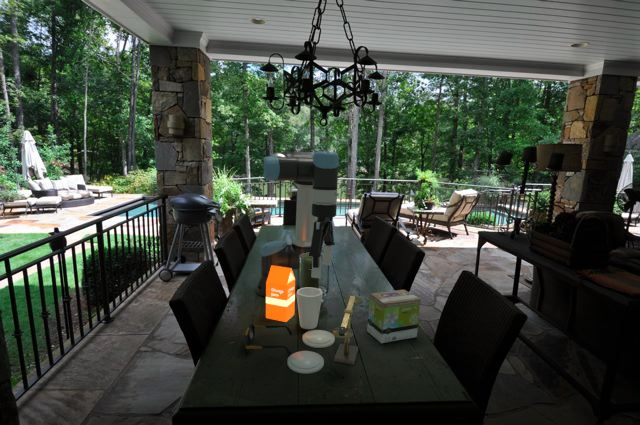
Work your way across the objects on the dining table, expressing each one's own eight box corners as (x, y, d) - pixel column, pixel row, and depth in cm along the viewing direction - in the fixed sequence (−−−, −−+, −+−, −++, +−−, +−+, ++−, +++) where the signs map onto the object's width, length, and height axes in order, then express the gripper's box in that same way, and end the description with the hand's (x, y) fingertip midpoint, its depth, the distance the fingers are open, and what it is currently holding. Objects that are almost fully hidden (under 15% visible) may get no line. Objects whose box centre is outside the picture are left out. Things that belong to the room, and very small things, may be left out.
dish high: (298, 344, 120) (298, 341, 120) (307, 329, 130) (307, 326, 130) (330, 350, 117) (330, 346, 117) (337, 334, 128) (337, 331, 127)
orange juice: (286, 322, 136) (287, 271, 133) (265, 318, 139) (265, 267, 136) (294, 314, 143) (295, 265, 140) (274, 310, 146) (275, 262, 143)
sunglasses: (291, 356, 113) (291, 341, 112) (242, 356, 112) (242, 341, 111) (292, 335, 127) (292, 321, 126) (248, 335, 126) (248, 321, 125)
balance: (343, 338, 125) (345, 291, 123) (360, 340, 124) (363, 293, 121) (329, 373, 105) (331, 317, 102) (349, 376, 103) (352, 320, 101)
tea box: (382, 345, 122) (384, 303, 119) (366, 331, 131) (368, 292, 129) (418, 337, 128) (421, 297, 125) (400, 325, 137) (403, 287, 135)
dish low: (282, 369, 105) (282, 365, 105) (294, 350, 116) (294, 347, 116) (318, 376, 103) (318, 372, 103) (327, 356, 113) (327, 353, 113)
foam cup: (318, 332, 129) (319, 298, 127) (293, 329, 130) (293, 295, 128) (323, 321, 138) (324, 288, 136) (299, 318, 140) (300, 286, 138)
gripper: (326, 209, 97) (323, 285, 100) (344, 199, 120) (341, 261, 124) (299, 207, 98) (297, 282, 102) (322, 198, 122) (320, 259, 125)
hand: (321, 271), depth 113 cm, fingers open, 13 cm apart
